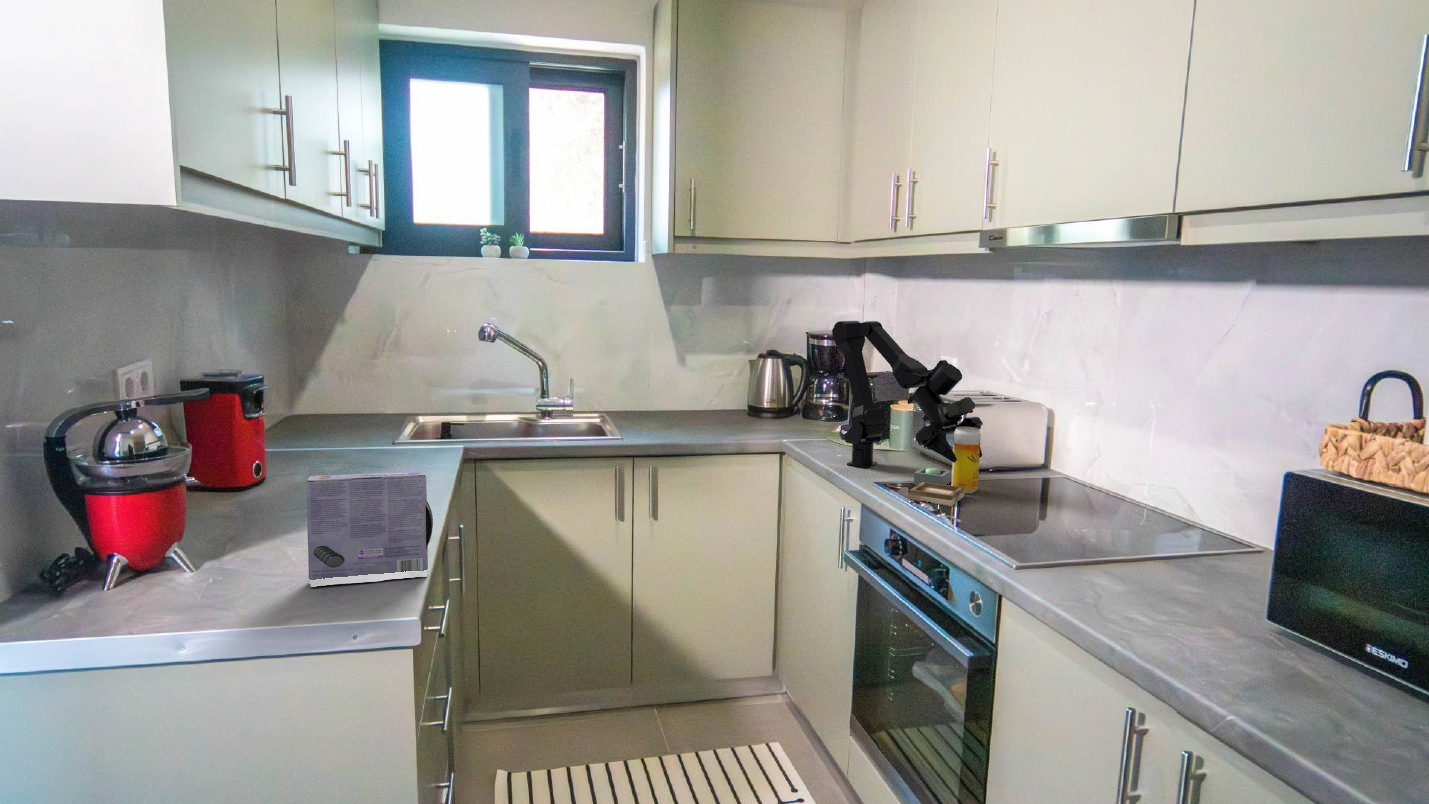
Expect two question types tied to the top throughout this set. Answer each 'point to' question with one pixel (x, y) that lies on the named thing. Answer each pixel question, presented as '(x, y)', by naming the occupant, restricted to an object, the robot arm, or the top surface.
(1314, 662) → the top surface
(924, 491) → the shallow wooden tray
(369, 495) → the cake pan box
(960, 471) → the beer can
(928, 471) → the button
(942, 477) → the button console
